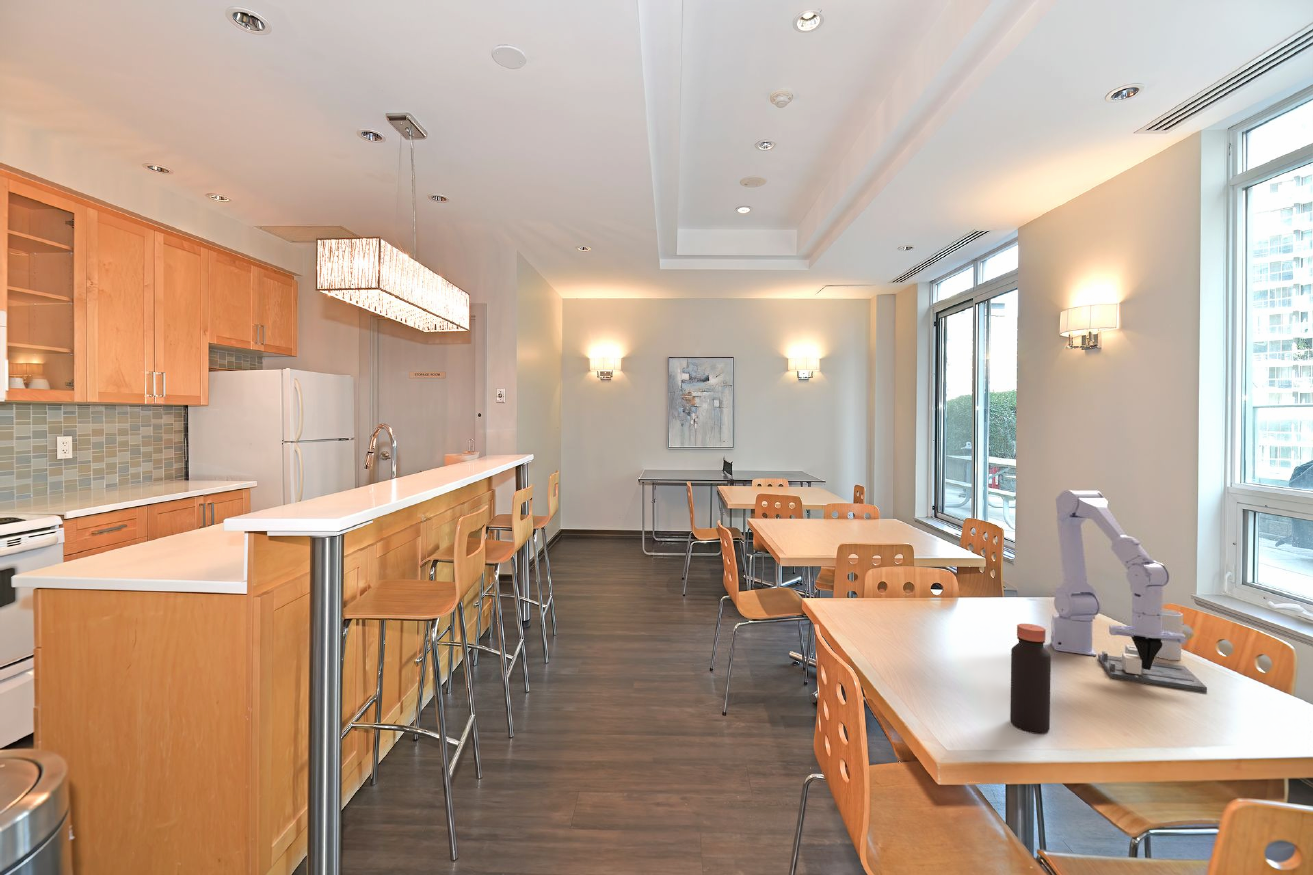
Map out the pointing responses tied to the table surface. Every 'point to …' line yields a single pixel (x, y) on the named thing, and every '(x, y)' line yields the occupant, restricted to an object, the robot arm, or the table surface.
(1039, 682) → the bottle
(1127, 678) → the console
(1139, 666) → the fader near
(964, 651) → the table surface
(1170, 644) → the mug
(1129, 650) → the fader far
